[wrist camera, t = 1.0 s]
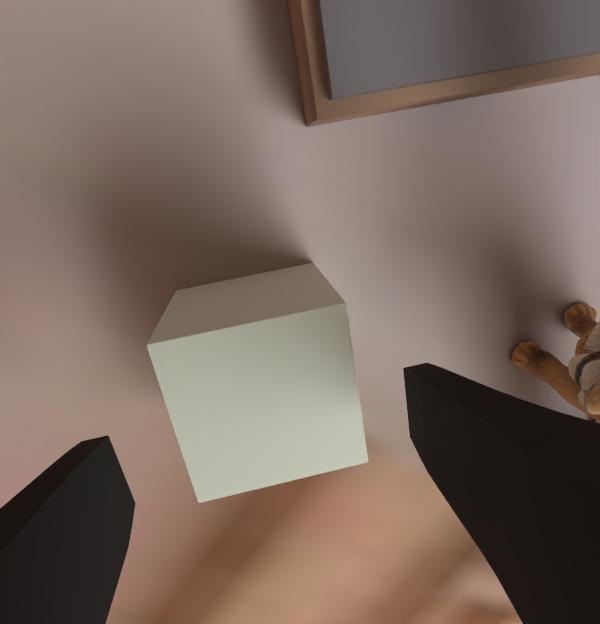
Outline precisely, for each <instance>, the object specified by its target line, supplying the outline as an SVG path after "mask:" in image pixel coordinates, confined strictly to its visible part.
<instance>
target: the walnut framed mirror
mask: <svg viewBox="0 0 600 624" xmlns="http://www.w3.org/2000/svg"><path fill="white" fill-rule="evenodd" d="M287 4H288V11H289V17H290V24H291V30H292V37H293V43H294V50H295V56H296V63H297V69H298V76H299V82H300V89H301V95H302V102H303V108H304V115H305V122H306V127H308V126H313V125H319V124H324V123H330V122H336V121H341V120H347V119H353V118H358V117H364V116H369V115H375V114H381V113H386V112H392V111H397V110H403V109H409V108H414V107H420V106H425V105H431V104H437V103H442V102H448V101H454V100H459V99H465V98H470V97H476V96H482V95H487V94H493V93H498V92H504V91H510V90H515V89H521V88H527V87H532V86H538V85H543V84H549V83H555V82H560V81H566V80H571V79H577V78H583V77H588V76H594V75H599V74H600V0H287Z"/></svg>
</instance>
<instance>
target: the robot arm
mask: <svg viewBox="0 0 600 624" xmlns="http://www.w3.org/2000/svg"><path fill="white" fill-rule="evenodd" d="M403 369H404V379H405V390H406V400H407V410H408V420H409V431H410V438H411V440H412V442H413V444H414V446H415V448H416V450H417V452H418V454H419V456H420V458H421V460H422V462H423V464H424V466H425V468H426V470H427V472H428V473H429V475H430V476H431V478H432V479H433V481H434V482H435V484H436V485H437V487H438V488H439V490H440V491H441V493H442V494H443V496H444V497H445V499H446V500H447V502H448V503H449V505H450V506H451V508H452V509H453V511H454V512H455V514H456V515H457V517H458V518H459V519H460V521H461V522H462V524H463V525H464V527H465V528H466V530H467V531H468V533H469V534H470V536H471V537H472V539H473V540H474V542H475V543H476V545H477V546H478V547H479V549H480V550H481V552H482V553H483V555H484V556H485V558H486V560H487V561H488V563H489V564H490V566H491V568H492V569H493V571H494V572H495V574H496V576H497V577H498V579H499V581H500V583H501V585H502V586H503V588H504V590H505V592H506V594H507V596H508V597H509V599H510V601H511V603H512V605H513V606H514V608H515V610H516V612H517V614H518V615H519V617H520V619H521V621H522V623H523V624H600V424H599V423H596V422H592V421H588V420H585V419H581V418H577V417H574V416H570V415H567V414H563V413H560V412H557V411H554V410H550V409H548V408H545V407H542V406H539V405H536V404H533V403H530V402H527V401H524V400H521V399H519V398H516V397H513V396H510V395H508V394H505V393H503V392H500V391H497V390H495V389H492V388H490V387H487V386H485V385H482V384H480V383H477V382H475V381H473V380H470V379H468V378H465V377H463V376H460V375H458V374H456V373H453V372H451V371H448V370H446V369H443V368H441V367H438V366H435V365H433V364H429V363H424V364H419V365H415V366H411V367H406V368H403ZM134 508H135V501H134V499H133V496H132V494H131V491H130V489H129V486H128V484H127V481H126V479H125V476H124V474H123V471H122V469H121V466H120V464H119V461H118V459H117V456H116V454H115V451H114V449H113V446H112V444H111V441H110V439H109V436H103V437H99V438H95V439H90V440H86V441H82V442H80V443H79V444H77V445H76V446H75V447H73V448H72V449H71V450H69V451H68V452H67V453H65V454H64V455H63V456H62V457H60V458H59V459H58V460H57V461H56V462H54V463H53V464H52V465H51V466H50V467H49V468H47V469H46V470H45V471H44V472H43V473H41V474H40V475H39V476H38V477H37V478H36V479H34V480H33V481H32V482H31V483H30V484H29V485H27V486H26V487H25V488H24V489H23V490H22V491H20V492H19V493H18V494H17V495H16V496H15V497H13V498H12V499H11V500H10V501H9V502H7V503H6V504H5V505H4V506H3V507H2V508H0V624H105V623H106V620H107V617H108V613H109V610H110V607H111V603H112V600H113V597H114V594H115V590H116V587H117V584H118V580H119V577H120V574H121V570H122V567H123V563H124V560H125V556H126V553H127V549H128V545H129V540H130V534H131V528H132V522H133V515H134Z"/></svg>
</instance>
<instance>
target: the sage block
mask: <svg viewBox="0 0 600 624" xmlns="http://www.w3.org/2000/svg"><path fill="white" fill-rule="evenodd" d="M146 346H147V349H148V352H149V355H150V358H151V361H152V364H153V367H154V370H155V373H156V376H157V379H158V382H159V385H160V388H161V391H162V394H163V397H164V400H165V403H166V406H167V409H168V412H169V415H170V418H171V421H172V424H173V427H174V430H175V433H176V436H177V439H178V442H179V445H180V448H181V451H182V454H183V457H184V460H185V463H186V466H187V469H188V472H189V475H190V478H191V481H192V484H193V487H194V490H195V493H196V496H197V499H198V502H199V503H201V502H205V501H209V500H213V499H218V498H222V497H226V496H230V495H234V494H238V493H242V492H247V491H251V490H255V489H259V488H263V487H267V486H271V485H276V484H280V483H284V482H288V481H292V480H296V479H300V478H305V477H309V476H313V475H317V474H321V473H325V472H329V471H334V470H338V469H342V468H346V467H350V466H354V465H358V464H363V463H367V462H368V456H367V449H366V442H365V435H364V428H363V421H362V414H361V407H360V400H359V393H358V385H357V378H356V371H355V364H354V357H353V350H352V343H351V336H350V329H349V322H348V315H347V308H346V303H345V301H344V300H343V299H342V298H341V296H340V295H339V294H338V293H337V291H336V290H335V289H334V288H333V286H332V285H331V284H330V283H329V282H328V280H327V279H326V278H325V277H324V275H323V274H322V273H321V272H320V270H319V269H318V268H317V267H316V266H315V264H314V263H309V264H304V265H299V266H294V267H289V268H284V269H279V270H274V271H269V272H264V273H259V274H254V275H250V276H245V277H240V278H235V279H230V280H225V281H220V282H215V283H210V284H205V285H200V286H195V287H190V288H185V289H181V290H176V291H175V293H174V295H173V297H172V299H171V301H170V302H169V304H168V306H167V308H166V310H165V312H164V313H163V315H162V317H161V319H160V321H159V323H158V324H157V326H156V328H155V330H154V332H153V334H152V335H151V337H150V339H149V341H148V343H147V345H146Z"/></svg>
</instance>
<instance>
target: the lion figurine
mask: <svg viewBox="0 0 600 624" xmlns="http://www.w3.org/2000/svg"><path fill="white" fill-rule="evenodd" d="M596 316H597V312H596V310H595V309H594V308H592V307H590V306H588V305H587V304H585V303H577V304H574V305H573V306H572V307H570V308H569V309H568V310H566V312H565V315H564V320H565V324H566V326H567V327H568V328H569V330H570V331H572V332H573V333H574V334H575V335H577V336H578V337H580V338H581V339H580V340H579V341H578V343H577V346H576V350H575V357H573V358H572V359H571V360H570V362H569V367H566V366H565V365H563V364H562V363H561V362H560V361H559V360H557V359H556V358H555V357H554V356H553V355H552V354H551V353H549V352H546V351H543V350H542V349H541V348H540V346H539V345H538V344H536V343H534V342H532V341H526V342H521V343H519V344H518V346H517V347H516V348H515V349H514V351H513V354H512V356H511V359H510V361H511V362H512V363H513V364H514V365H516V366H518V367H520V368H522V369H524V370H526V371H527V372H529V373H531V374H532V375H534V376H537V377H539V378H541V379H543V380H544V381H546V382H548V383H549V384H550V385H551V386H552V387H553V388H555V389H556V391H557V392H558V393H559V394H560V395H561V396H562V397H563V398H564V399H565V400H566V401H567V402H569V403H570V404H572V405H574V406H575V407H577V408H578V409H580V410H581V411H583V412H584V413H586V414H587V415H588V416H590V417H592V418H594V419H596V420H595V422H596V423H599V424H600V322H599V323H597V322H595V319H596Z"/></svg>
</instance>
